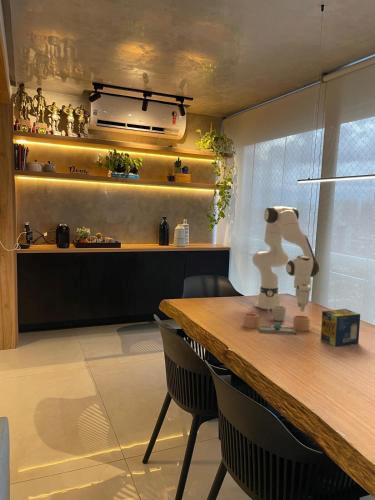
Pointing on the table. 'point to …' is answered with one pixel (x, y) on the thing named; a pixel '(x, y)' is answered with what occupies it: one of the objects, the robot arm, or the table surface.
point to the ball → (277, 325)
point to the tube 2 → (301, 323)
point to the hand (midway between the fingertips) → (300, 308)
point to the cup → (278, 312)
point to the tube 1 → (251, 320)
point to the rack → (280, 331)
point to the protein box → (340, 327)
